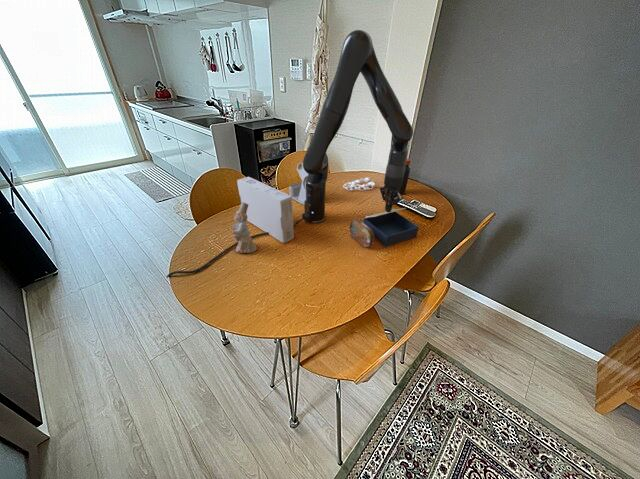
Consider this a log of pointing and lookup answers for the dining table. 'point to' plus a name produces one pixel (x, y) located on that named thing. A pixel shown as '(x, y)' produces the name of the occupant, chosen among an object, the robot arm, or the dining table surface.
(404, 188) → the bottle
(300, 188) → the phone holder
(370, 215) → the carton flap
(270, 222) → the packaging
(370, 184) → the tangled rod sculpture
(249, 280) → the dining table surface
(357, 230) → the tin
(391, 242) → the carton
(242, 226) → the figurine
